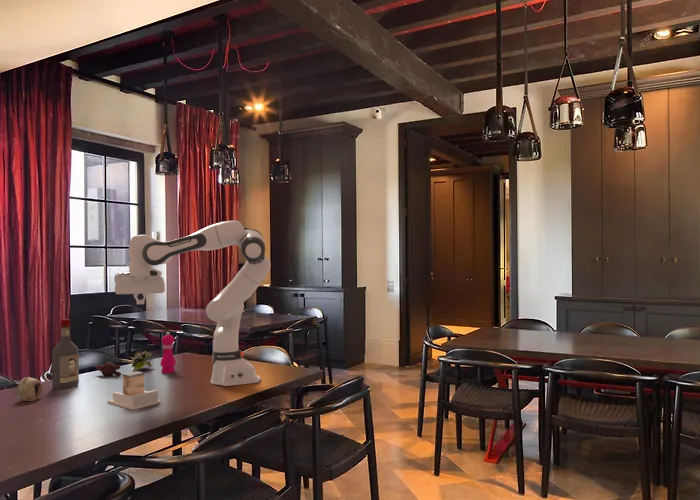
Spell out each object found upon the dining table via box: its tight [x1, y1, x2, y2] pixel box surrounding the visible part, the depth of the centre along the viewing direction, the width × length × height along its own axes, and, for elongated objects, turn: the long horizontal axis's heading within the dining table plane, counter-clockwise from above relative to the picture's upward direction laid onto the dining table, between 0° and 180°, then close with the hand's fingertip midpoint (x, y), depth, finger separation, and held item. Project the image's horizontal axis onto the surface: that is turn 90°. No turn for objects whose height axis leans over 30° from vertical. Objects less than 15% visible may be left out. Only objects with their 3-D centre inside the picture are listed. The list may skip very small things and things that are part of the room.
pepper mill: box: [160, 331, 176, 374], centre depth 271 cm, size 7×7×20 cm
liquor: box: [51, 318, 80, 390], centre depth 243 cm, size 9×9×30 cm
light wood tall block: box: [121, 370, 145, 396], centre depth 214 cm, size 5×6×10 cm
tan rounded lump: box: [16, 376, 45, 402], centre depth 221 cm, size 9×8×10 cm
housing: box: [107, 389, 162, 411], centre depth 214 cm, size 18×12×5 cm
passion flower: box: [130, 350, 153, 372], centre depth 278 cm, size 11×11×12 cm
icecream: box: [94, 361, 122, 377], centre depth 264 cm, size 7×7×15 cm
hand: (140, 304), depth 235 cm, fingers closed
